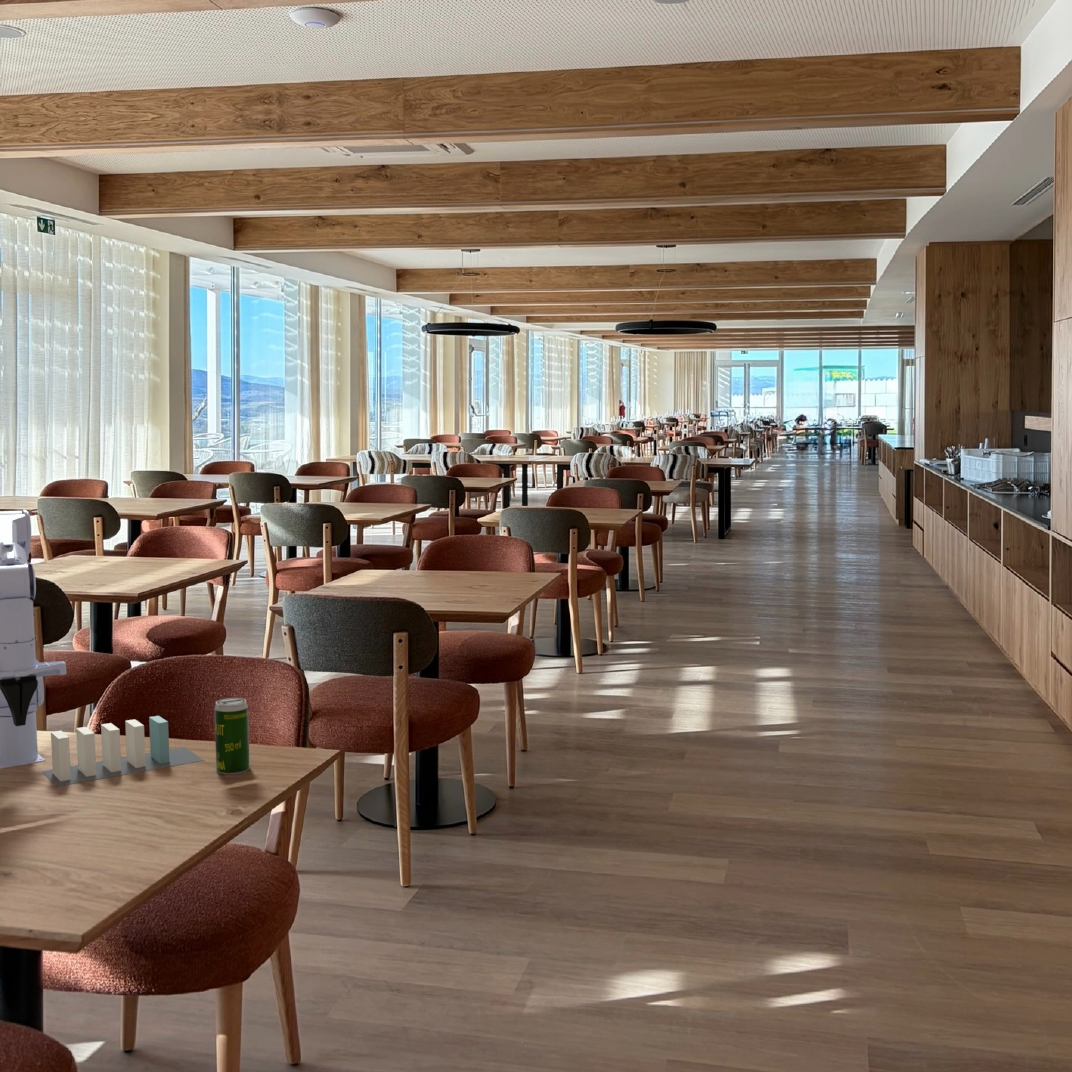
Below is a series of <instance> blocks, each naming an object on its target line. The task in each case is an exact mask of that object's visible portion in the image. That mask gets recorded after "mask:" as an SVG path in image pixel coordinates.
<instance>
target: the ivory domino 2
mask: <svg viewBox="0 0 1072 1072" xmlns="http://www.w3.org/2000/svg"><path fill="white" fill-rule="evenodd" d="M95 734H96V733H95V732H94V731H92V729H90V728H88V727H87V726H83V727H76V749H77V765H78V770H79V771H81V772H82V773H83V774H84V775H85V776H86V777H88V776H93V775H96V762H97V757H96V735H95Z"/></svg>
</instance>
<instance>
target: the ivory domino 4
mask: <svg viewBox="0 0 1072 1072" xmlns="http://www.w3.org/2000/svg"><path fill="white" fill-rule="evenodd" d="M124 721H125V723H124V724H125V744H126V745H125V746H126V757H127V761H128V762H129V763H130V764H131V765H133V766H134V767H135V768H139V767H144V766H146V764H145V754H146V748H145V747H146V741H145V725H144V724H142V723H141V722H140V721H139V720H137V719H136V718H135V719H129V720H128V719H127V720H124Z"/></svg>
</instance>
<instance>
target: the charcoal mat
mask: <svg viewBox="0 0 1072 1072" xmlns="http://www.w3.org/2000/svg"><path fill="white" fill-rule="evenodd" d="M169 760H170V762H167V763H162V764H160V763H158V762H157V761H156V760H154V759H153V758H152V757H151V752H148V753H146V752H145V764H146V766H144V767H139V768H135V767H134V766H133V765H131V764H130V763H129V762H128V761H127V756H124V757H121V771H116V772H110V771H109V770H108V769H107V768H106V767H105V766H103V760H99V761H96V775H93V776H88V777H86V776H85V775H84V774H83V773H82V772H81V771H79V770H78V764H76V765H73V766H71V765H70V770H71V780H65V781H60V780H59V779H58V778H57V777H56V776H55V775H54V774H53V768H51V769H47V770H42V771H41V773H42V774H43V776H45V777H46V778H47V779H48V780H49V781H50V782H51V783H52V784H53V786H55V787H57V788H58V787H63V786H69V785H75V784H81V783H87V782H91V781H92V782H93V781H97V780H104V779H108V778H109V779H110V778H114V777H119V776H125V775H131V774H137V773H142V772H147V771H154V770H159V769H165V768H170V767H176V766H181V765H186V764H193V763H197V762H203V761H205V759H203V758H202V757H200V756H199V755H198V754H196V753H194V752H192V751H191V750H190V749H189V748H187V747H185V746H183V747H177V748H172V749H170V748H169Z"/></svg>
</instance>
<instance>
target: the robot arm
mask: <svg viewBox="0 0 1072 1072" xmlns="http://www.w3.org/2000/svg"><path fill="white" fill-rule="evenodd" d="M31 542H32V522H31V515H30V512H29V511H27V509H22V510H5V511H4V510H3V511H0V769H6V768H10V767H12V768H13V767H17V766H22V765H23V766H24V765H30V764H34V763H35V764H37V763H41V762H46V760H45V758H44V757H43V756H42V755H41V754H40V753H39V751H38V750H39V748H38V731H37V711H38V707H41V706H42V704H43V703H44V701H45V688H44V678H43V677H51V676H66V675H67V663H66V662H65V661H62V660H59V661H46V662H39V660H38V659H37V658H36V656H37V655H36V639H35V637H36V636H35V635H36V634H35V618H34V616H35V614H34V600H35V598H36V592H37V584H36V582H37V581H36V572H35V569H34V566H33V563H32V562H28V560H29V559H30V558H29V554H31ZM31 598H32V599H33V600H32V599H31Z"/></svg>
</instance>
